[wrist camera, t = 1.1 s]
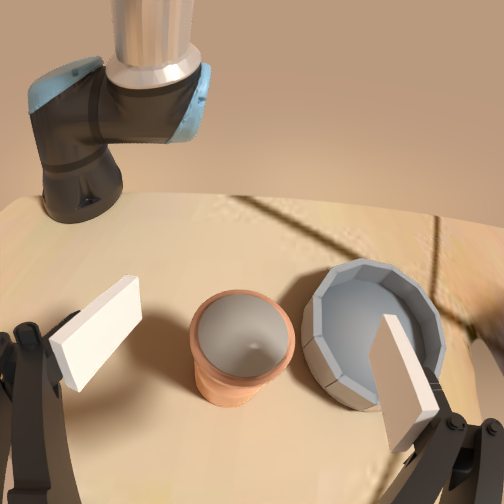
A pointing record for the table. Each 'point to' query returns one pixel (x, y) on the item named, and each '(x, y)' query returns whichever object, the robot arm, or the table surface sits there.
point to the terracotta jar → (239, 345)
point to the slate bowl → (365, 328)
